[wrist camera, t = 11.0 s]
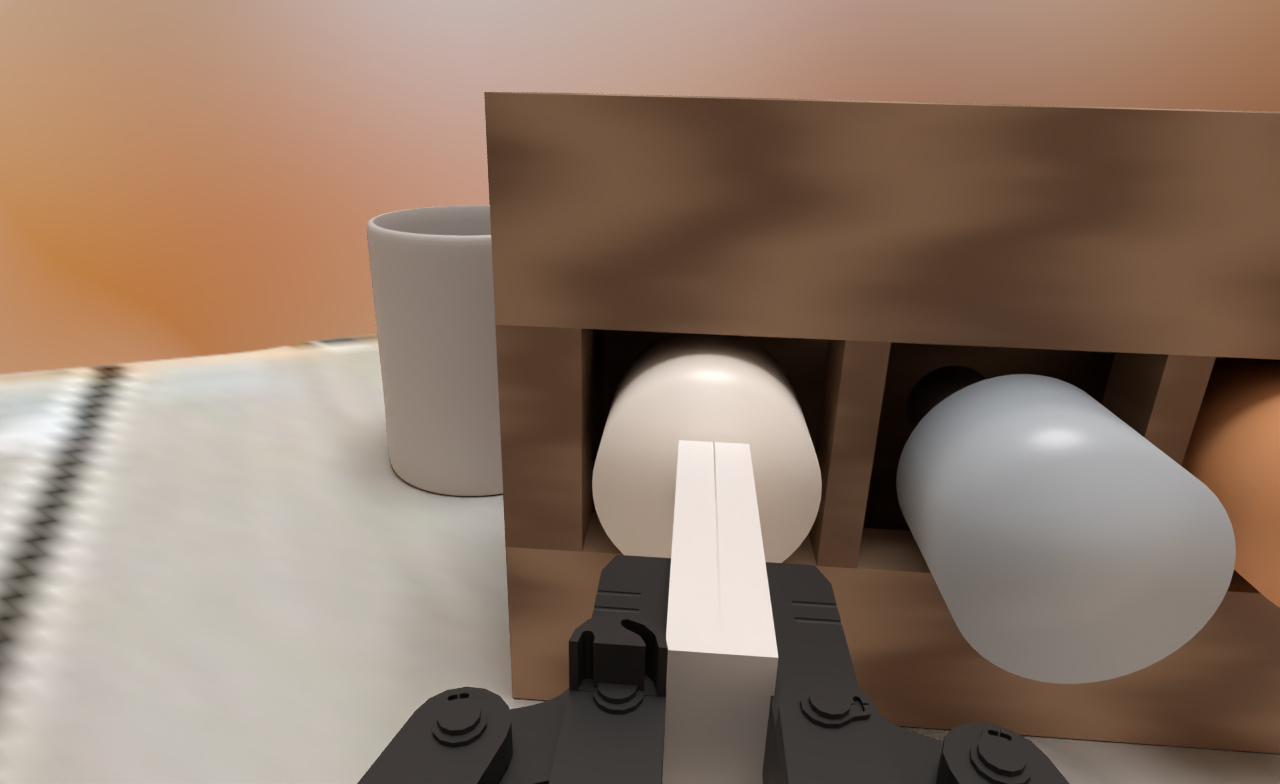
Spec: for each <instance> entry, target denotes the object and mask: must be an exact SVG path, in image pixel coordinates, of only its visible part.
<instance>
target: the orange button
mask: <svg viewBox="0 0 1280 784" xmlns="http://www.w3.org/2000/svg"><path fill="white" fill-rule="evenodd" d="M1182 467H1183V468H1184V469H1186V470H1187V471H1188V472H1190V473H1191V474H1192V475H1193V476H1195V477H1196V478H1197V479H1199V480H1200V481H1201V482H1203V483H1204V484H1205V485H1206V486H1207V487H1208V488H1209V489H1210V490H1211V491H1212V492H1213V493H1214V494H1215V495H1216V496H1217V498H1218V499H1219V501H1220V502H1221V504H1222V505H1223V507H1224V508H1225V510H1226V512H1227V514H1228V517H1229V519H1230V521H1231V524H1232V528H1233V532H1234V536H1235V547H1236V557H1235V566H1234V570H1235V571H1236V572H1238V573H1239V574H1240V575H1241V576H1242V577H1243V578H1244V579H1245V580H1247V581H1248V582H1249V583H1250V584H1251V585H1252V586H1253V587H1254V588H1256V589H1257V590H1258V591H1259V592H1260V593H1261V594H1262V595H1263V596H1265V597H1266V598H1267V599H1268V600H1270V601H1271V602H1272V603H1274V604H1275V605H1276V606H1278V607H1280V360H1279V359H1256V358H1234V357H1233V358H1231V359H1228V360H1225V361H1222V362H1220V363H1218V364H1215V365H1213V368H1212V371H1211V374H1210V378H1209V381H1208V384H1207V387H1206V390H1205V393H1204V397H1203V400H1202V403H1201V406H1200V409H1199V412H1198V415H1197V419H1196V422H1195V425H1194V428H1193V431H1192V434H1191V437H1190V441H1189V444H1188V447H1187V450H1186V453H1185V456H1184V459H1183V463H1182Z"/></svg>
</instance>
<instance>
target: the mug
mask: <svg viewBox="0 0 1280 784" xmlns="http://www.w3.org/2000/svg"><path fill="white" fill-rule="evenodd" d="M367 240H368V250H369V260H370V269H371V278H372V287H373V297H374V306H375V316H376V325H377V335H378V344H379V354H380V363H381V372H382V382H383V392H384V402H385V413H386V426H387V440H388V450H389V457H390V461H391V464H392V467H393V469H394V471H395V472H396V473H397V475H398V476H399V477H401V478H402V479H403V480H404V481H406V482H407V483H409V484H411V485H413V486H415V487H417V488H420V489H423V490H426V491H429V492H434V493H439V494H445V495H454V496H486V495H496V494H503V477H502V456H501V435H500V413H499V392H498V371H497V349H496V328H495V307H494V286H493V264H492V243H491V222H490V206H442V207H427V208H417V209H408V210H401V211H395V212H390V213H385V214H382V215H379V216H376V217H374V218H372V219H370V221H369V222H368V224H367Z"/></svg>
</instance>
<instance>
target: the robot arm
mask: <svg viewBox="0 0 1280 784" xmlns="http://www.w3.org/2000/svg"><path fill="white" fill-rule="evenodd" d="M357 784H1069V783H1068V782H1067V780H1066V779H1065V778H1064V777H1063V775H1062V774H1061V773H1060V772H1059V770H1058V769H1057V768H1056V767H1055V766H1054V764H1053V763H1052V762H1051V761H1050V759H1049V758H1048V757H1047V756H1046V755H1045V754H1044V753H1043V752H1042V751H1041V750H1040V749H1039V748H1037V747H1036V746H1035V745H1034V744H1033V743H1032V742H1031V741H1029V740H1028V739H1026V738H1024V737H1022V736H1021V735H1019V734H1017V733H1015V732H1014V731H1012V730H1010V729H1006V728H1003V727H1000V726H997V725H993V724H990V723H973V722H969V723H966V724H963V725H960V726H956V727H954V728H953V729H952V730H951V731H950V732H949V733H948V734H947V736H946V737H945V738H944V742H942V741H939V740H936V739H933V738H930V737H927V736H924V735H920V734H917V733H914V732H911V731H909V730H907V729H904V728H902V727H899V726H897V725H895V724H893V723H892V722H890V721H888V720H887V719H885V718H884V717H882V716H881V715H880V714H879V712H878V710H877V708H876V706H875V704H874V703H873V701H872V699H871V698H870V697H869V696H868V695H867V694H866V693H865V692H864V691H862V690H861V689H860V688H859V686H858V683H857V679H856V675H855V672H854V668H853V664H852V660H851V656H850V653H849V649H848V645H847V641H846V638H845V634H844V630H843V626H842V624H841V619H840V615H839V611H838V608H837V607H836V600H835V596H834V592H833V588H832V585H831V583H830V582H829V581H828V579H827V578H826V577H825V576H824V575H823V574H822V573H821V572H820V571H819V569H818V568H817V567H816V566H815V565H803V564H787V563H772V562H765V556H764V548H763V541H762V534H761V526H760V519H759V512H758V504H757V497H756V490H755V482H754V475H753V468H752V460H751V453H750V446H749V444H740V443H721V442H702V441H684V440H679V447H678V462H677V477H676V492H675V507H674V523H673V538H672V553H671V558H660V557H644V556H629V555H616V556H615V557H614V558H613V559H612V560H611V561H610V562H609V563H608V564H607V565H606V566H605V568H604V569H603V570H602V571H601V575H600V580H599V585H598V590H597V594H596V599H595V604H594V610H593V613H592V618H591V619H588V620H587V621H585V622H584V623H583V624H581V625H580V626H579V627H577V628H576V629H575V630H574V632H573V634H572V636H571V638H570V639H569V688H568V689H567V690H566V691H564V692H563V693H562V694H560V695H559V696H557V697H555V698H553V699H551V700H549V701H547V702H543V703H540V704H536V705H532V706H527V707H522V708H516V709H511V710H509V707H508V705H507V704H506V703H505V702H504V701H503V699H502V698H501V697H500V696H499V695H497V694H495V693H493V692H490V691H488V690H486V689H482V688H473V687H463V688H457V689H451V690H447V691H444V692H442V693H440V694H438V695H436V696H434V697H432V698H430V699H428V700H427V701H426V702H425V703H424V704H423V705H422V706H420V707H419V708H418V709H417V710H416V711H415V712H414V713H413V715H412V716H411V717H410V718H409V720H408V721H407V722H406V723H405V725H404V726H403V727H402V728H401V730H400V731H399V732H398V733H397V735H396V736H395V737H394V738H393V740H392V741H391V742H390V743H389V745H388V746H387V747H386V748H385V750H384V751H383V752H382V753H381V755H380V756H379V757H378V758H377V760H376V761H375V762H374V763H373V765H372V766H371V767H370V768H369V770H368V771H367V772H366V773H365V775H364V776H363V777H362V778H361V780H360V781H359V782H358V783H357Z"/></svg>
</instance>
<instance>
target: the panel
mask: <svg viewBox="0 0 1280 784" xmlns="http://www.w3.org/2000/svg"><path fill="white" fill-rule="evenodd" d="M485 115H486V136H487V155H488V156H487V158H488V179H489V198H490V199H489V200H490V222H491V243H492V264H493V286H494V307H495V328H496V349H497V371H498V392H499V413H500V435H501V456H502V477H503V499H504V520H505V541H506V563H507V584H508V605H509V627H510V648H511V669H512V690H513V698H523V699H537V700H551V699H553V698H555V697H557V696H559V695H560V694H562V693H563V692H564V691H566V690H567V689H568V688H569V639H570V638H571V636H572V634H573V632H574V630H575V629H576V628H577V627H579V626H580V625H581V624H583V623H584V622H585V621H587V620H588V619H591V618H592V613H593V610H594V604H595V599H596V594H597V590H598V585H599V580H600V575H601V571H602V570H603V569H604V568H605V566H606V565H607V564H608V563H609V562H610V561H611V560H612V559H613V558H614V557H615V556H616V555H623V553H622V552H621V551H620V550H619V549H618V548H617V547H616V546H615V545H614V544H613V542H612V541H611V540H610V538H609V537H608V535H607V534H606V532H605V530H604V528H603V527H602V525H601V523H600V520H599V518H598V515H597V512H596V509H595V504H594V500H593V491H592V479H593V469H594V465H595V461H596V457H597V453H598V450H599V446H600V442H601V439H602V435H603V432H604V428H605V425H606V421H607V418H608V414H609V411H610V407H611V404H612V400H613V396H614V393H615V390H616V387H617V385H618V382H619V380H620V378H621V376H622V375H623V373H624V371H625V370H626V368H627V367H628V366H629V364H630V363H631V362H632V360H633V359H634V358H635V357H636V356H637V355H638V354H639V353H641V352H642V351H643V350H644V349H646V348H647V347H648V346H650V345H651V344H653V343H655V342H656V341H658V340H660V339H662V338H664V337H667V336H669V335H671V334H675V333H692V334H715V335H738V336H744V337H747V338H749V339H750V340H752V341H754V342H756V343H758V344H759V345H761V346H762V347H764V348H765V349H766V350H768V351H769V352H770V353H771V354H772V355H773V356H774V357H775V358H776V359H777V360H778V361H779V362H780V364H781V365H782V366H783V367H784V369H785V370H786V372H787V374H788V375H789V377H790V379H791V381H792V383H793V386H794V388H795V391H796V394H797V397H798V400H799V403H800V406H801V409H802V412H803V416H804V419H805V422H806V425H807V428H808V431H809V434H810V437H811V440H812V443H813V446H814V449H815V452H816V456H817V459H818V463H819V467H820V471H821V481H822V490H821V501H820V505H819V510H818V513H817V516H816V519H815V522H814V524H813V526H812V528H811V530H810V531H809V533H808V535H807V537H806V538H805V539H804V541H803V542H802V543H801V545H800V546H799V547H798V548H797V549H796V550H795V551H794V552H793V553H792V555H791V556H789V557H788V558H787V559H786V560H784V561H783V562H782V563H787V564H803V565H815V566H816V567H817V568H818V569H819V571H820V572H821V573H822V574H823V575H824V576H825V577H826V578H827V579H828V581H829V582H830V583H831V585H832V588H833V592H834V596H835V600H836V607H837V608H838V611H839V615H840V619H841V624H842V626H843V630H844V634H845V638H846V641H847V645H848V649H849V653H850V656H851V660H852V664H853V668H854V672H855V675H856V679H857V683H858V686H859V688H860V689H861V690H862V691H864V692H865V693H866V694H867V695H868V696H869V697H870V698H871V699H872V701H873V703H874V704H875V706H876V708H877V710H878V712H879V714H880V715H881V716H882V717H884V718H885V719H887V720H888V721H890V722H892V723H893V724H895V725H897V726H907V727H920V728H934V729H948V730H952V729H953V728H954V727H956V726H960V725H963V724H966V723H969V722H973V723H990V724H993V725H997V726H1000V727H1003V728H1006V729H1010V730H1012V731H1014V732H1015V733H1017V734H1019V735H1030V736H1044V737H1057V738H1071V739H1085V740H1098V741H1112V742H1126V743H1139V744H1153V745H1167V746H1181V747H1194V748H1208V749H1222V750H1235V751H1249V752H1263V753H1276V754H1280V607H1278V606H1276V605H1275V604H1274V603H1272V602H1271V601H1270V600H1268V599H1267V598H1266V597H1265V596H1263V595H1262V594H1261V593H1260V592H1259V591H1258V590H1257V589H1256V588H1254V587H1253V586H1252V585H1251V584H1250V583H1249V582H1248V581H1247V580H1245V579H1244V578H1243V577H1242V576H1241V575H1240V574H1239V573H1238V572H1236V571H1235V570H1234V571H1233V575H1232V578H1231V582H1230V585H1229V587H1228V590H1227V592H1226V594H1225V596H1224V599H1223V600H1222V602H1221V604H1220V605H1219V607H1218V608H1217V610H1216V612H1215V613H1214V615H1213V616H1212V617H1211V618H1210V619H1209V621H1208V622H1207V623H1206V624H1205V626H1204V627H1203V628H1202V629H1201V630H1200V631H1199V632H1198V633H1197V634H1196V635H1195V636H1194V637H1193V638H1192V639H1190V640H1189V641H1188V642H1187V643H1185V644H1184V645H1183V646H1181V647H1180V648H1179V649H1178V650H1176V651H1175V652H1173V653H1171V654H1170V655H1168V656H1167V657H1165V658H1163V659H1162V660H1160V661H1158V662H1156V663H1154V664H1152V665H1150V666H1148V667H1146V668H1144V669H1141V670H1138V671H1136V672H1133V673H1130V674H1128V675H1124V676H1120V677H1117V678H1113V679H1109V680H1104V681H1098V682H1092V683H1079V684H1057V683H1049V682H1041V681H1036V680H1032V679H1028V678H1024V677H1021V676H1018V675H1015V674H1013V673H1010V672H1008V671H1006V670H1004V669H1002V668H1000V667H998V666H996V665H994V664H993V663H991V662H990V661H988V660H987V659H985V658H984V657H982V656H981V655H980V654H979V653H978V652H977V651H976V650H975V649H974V648H972V646H971V645H970V644H969V643H968V642H967V640H966V639H965V638H964V637H963V635H962V633H961V632H960V630H959V628H958V627H957V625H956V623H955V621H954V619H953V617H952V615H951V613H950V611H949V609H948V607H947V605H946V602H945V600H944V598H943V596H942V594H941V592H940V590H939V588H938V586H937V584H936V582H935V580H934V578H933V576H932V574H931V572H930V569H929V567H928V565H927V563H926V561H925V559H924V557H923V555H922V553H921V551H920V549H919V547H918V545H917V543H916V541H915V539H914V536H913V534H912V532H911V530H910V528H909V526H908V524H907V522H906V520H905V518H904V516H903V513H902V511H901V508H900V505H899V501H898V496H897V487H896V478H897V468H898V464H899V460H900V456H901V454H902V451H903V449H904V446H905V444H906V442H907V440H908V438H909V437H910V435H911V433H912V432H913V430H914V429H913V427H912V426H911V424H910V422H909V419H908V416H907V401H908V397H909V395H910V392H911V391H912V389H913V387H914V386H915V384H916V383H917V382H918V381H919V380H920V379H921V378H922V377H923V376H925V375H926V374H928V373H929V372H931V371H933V370H935V369H938V368H940V367H944V366H950V365H960V366H966V367H969V368H972V369H974V370H976V371H978V372H979V373H981V374H982V375H983V376H984V377H985V378H986V379H990V378H994V377H998V376H1005V375H1013V374H1032V375H1041V376H1047V377H1051V378H1056V379H1059V380H1062V381H1065V382H1067V383H1070V384H1072V385H1074V386H1076V387H1078V388H1079V389H1081V390H1083V391H1085V392H1086V393H1087V394H1088V395H1090V396H1091V397H1092V398H1094V399H1095V400H1096V401H1098V402H1099V403H1100V404H1101V405H1103V406H1104V407H1105V408H1107V409H1108V410H1109V411H1111V412H1112V413H1113V414H1114V415H1116V416H1117V417H1118V418H1120V419H1121V420H1122V421H1123V422H1125V423H1126V424H1127V425H1129V426H1130V427H1131V428H1133V429H1134V430H1135V431H1136V432H1138V433H1139V434H1140V435H1142V436H1143V437H1144V438H1146V439H1147V440H1148V441H1149V442H1151V443H1152V444H1153V445H1155V446H1156V447H1157V448H1158V449H1160V450H1161V451H1162V452H1164V453H1165V454H1166V455H1168V456H1169V457H1170V458H1171V459H1173V460H1174V461H1175V462H1177V463H1178V464H1179V465H1180V466H1182V463H1183V459H1184V456H1185V453H1186V450H1187V447H1188V444H1189V441H1190V437H1191V434H1192V431H1193V428H1194V425H1195V422H1196V419H1197V415H1198V412H1199V409H1200V406H1201V403H1202V400H1203V397H1204V393H1205V390H1206V387H1207V384H1208V381H1209V378H1210V374H1211V371H1212V368H1213V365H1215V364H1218V363H1220V362H1222V361H1225V360H1228V359H1231V358H1233V357H1234V358H1256V359H1279V360H1280V112H1272V111H1234V110H1196V109H1158V108H1118V107H1080V106H1043V105H1005V104H967V103H966V104H965V103H964V104H963V103H930V102H928V103H927V102H891V101H890V102H889V101H852V100H816V99H778V98H776V99H775V98H740V97H739V98H738V97H702V96H664V95H663V96H662V95H626V94H624V95H623V94H588V93H512V92H485Z"/></svg>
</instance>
